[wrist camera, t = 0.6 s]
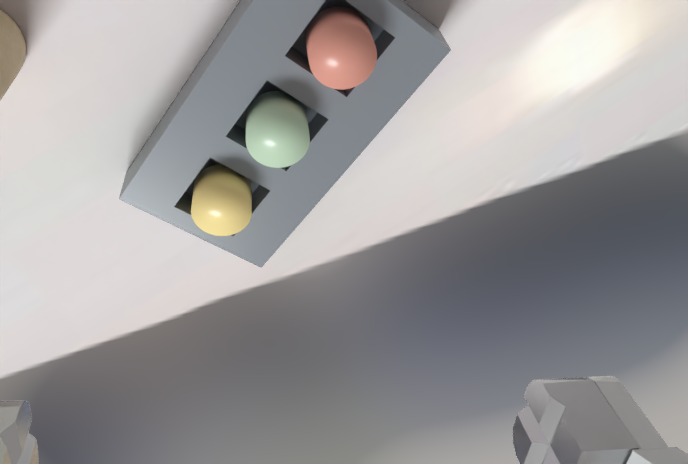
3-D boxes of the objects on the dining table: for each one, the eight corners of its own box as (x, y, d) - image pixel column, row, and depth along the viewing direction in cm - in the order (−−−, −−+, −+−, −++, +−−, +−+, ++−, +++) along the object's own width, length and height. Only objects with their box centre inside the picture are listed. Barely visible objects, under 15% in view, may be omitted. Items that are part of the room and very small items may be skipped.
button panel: (296, -83, 40) (299, -68, 37) (438, 29, 45) (450, 49, 42) (126, 172, 49) (118, 199, 47) (260, 240, 55) (261, 267, 52)
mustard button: (213, 154, 47) (211, 177, 44) (262, 182, 49) (263, 205, 46) (183, 195, 49) (179, 219, 46) (232, 220, 50) (231, 244, 48)
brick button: (331, -7, 41) (336, 10, 38) (383, 31, 43) (390, 49, 40) (292, 46, 42) (294, 65, 40) (343, 80, 44) (348, 101, 42)
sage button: (268, 79, 44) (269, 100, 41) (318, 111, 46) (322, 133, 43) (234, 125, 46) (233, 148, 43) (284, 154, 47) (286, 177, 45)
